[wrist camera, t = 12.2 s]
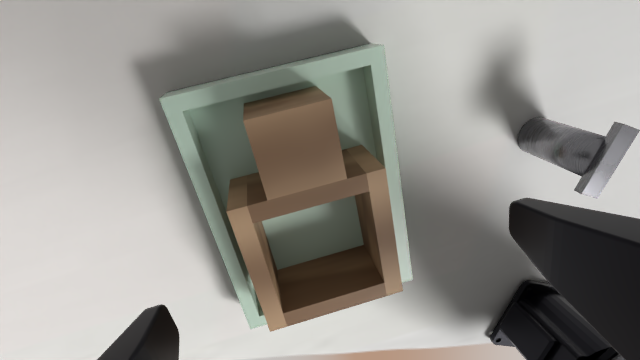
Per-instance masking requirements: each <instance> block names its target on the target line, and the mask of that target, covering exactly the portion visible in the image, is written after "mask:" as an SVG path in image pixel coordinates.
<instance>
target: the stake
mask: <svg viewBox="0 0 640 360" xmlns="http://www.w3.org/2000/svg"><path fill="white" fill-rule="evenodd" d="M639 131H640V130H638V129H636V128H633V127H630V126H628V125H625V124H622V123H618V122H614V124H613V125H612V127H611V129H610V130H609V132H608V134H607V135H606V137H605V136H602V135H599V134H595V133H592V132H589V131H585V130H582V129H579V128H575V127H572V126H568V125H565V124H562V123H558V122H555V121H552V120H548V119H545V118H541V117H537V118H533V119H531V120H529V121H528V122H527V123H526V124H525V125H524V126H523V127H522V129H521V130H520V132H519V136H518V144H519V147H520V148H521V149H522V150H523V151H525V152H527V153H530V154H532V155H534V156H536V157H539V158H541V159H543V160H546V161H548V162H550V163H552V164H555V165H557V166H559V167H562V168H564V169H566V170H569V171H571V172H573V173H575V174H578V175H580V176H582V178H581V179H580V181H579V183H578V184H577V186H576V188H575V189H574V191H577V192H579V193H581V194H583V195H587V196H590V197H594V198H598V197H599V195H600V194H601V192H602V190H603V189H604V187H605V185H606V184H607V182H608V181H609V179H610V177H611V176H612V174H613V173H614V171H615V169H616V168H617V166H618V165H619V163H620V161H621V160H622V158H623V157H624V155H625V153H626V152H627V150H628V149H629V147H630V145H631V144H632V142H633V140H634V139H635V137H636V136H637V134H638V132H639Z"/></svg>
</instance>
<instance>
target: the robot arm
mask: <svg viewBox="0 0 640 360" xmlns="http://www.w3.org/2000/svg"><path fill="white" fill-rule="evenodd" d="M509 231H510V234H511V236H512V237H513V239H514V240H515V241H516V243H517V244H518V245H519V246H520V247H521V249H522V250H523V251H524V252H525V254H526V255H527V256H528V257H529V259H530V260H531V261H532V262H533V264H534V265H535V266H536V267H537V269H538V270H539V271H540V272H541V273H542V275H543V276H544V277H545V278H546V279H547V281H548V282H549V283H550V284H548V283H543V282H537V281H531V280H527V281H525V282H523V283H522V285H521V286H520V288H519V290H518V291H517V293H516V295H515V296H514V298H513V300H512V301H511V303H510V305H509V306H508V308H507V310H506V311H505V313H504V315H503V316H502V318H501V320H500V322H499V323H498V325H497V327H496V328H495V330H494V332H493V333H492V335H491V337H490V340H491V341H492V342H493V343H494V344H495V345H503V346H513V347H516V348H517V350H518V351H519V352H520V353H521V354H522V355H523V357H524V358H525V359H526V360H640V219H637V218H632V217H627V216H622V215H616V214H611V213H606V212H600V211H595V210H590V209H585V208H579V207H574V206H569V205H563V204H558V203H553V202H547V201H542V200H537V199H532V198H523V199H520V200H516V201H513V202H512V203H511V204H510V207H509ZM97 360H179V332H178V329H177V326H176V324H175V323H174V321H173V319H172V317H171V315H170V313H169V311H168V309H167V307H166V306H165V305H157V306H154V307H151V308H147V309H145V310H144V311H143V312H142V313H141V314H140V315H139V316H138V317H137V319H136V320H135V321H134V322H133V323H132V324H131V325H130V326H129V327H128V328H127V329H126V330H125V331H124V332H123V333H122V334H121V335H120V336H119V337H118V338H117V340H116V341H115V342H114V343H113V344H112V345H111V346H110V347H109V348H108V349H107V350H106V351H105V352H104V353H103V354H102V355H101V356H100V357H99V358H98V359H97Z"/></svg>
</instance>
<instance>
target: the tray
mask: <svg viewBox="0 0 640 360" xmlns="http://www.w3.org/2000/svg"><path fill="white" fill-rule="evenodd" d="M313 86H317V87H318V88H319V89H320V90H322V91H323V92H324V93H325V94H327V95H328V96H329V97H330V98H332V103H333V108H334V113H335V119H336V124H337V129H338V134H339V139H340V145H341V150H344V149H348V148H352V147H355V146H359V145H363V146H364V147H365V148H366V149H367V150H368V151H369V152H370V153H371V154H372V155H373V156H374V157H375V158H376V159H377V160H378V161H379V162H380V163H381V164H382V165H383V166H384V167H385V168H386V174H387V181H388V188H389V196H390V203H391V210H392V217H393V224H394V231H395V238H396V246H397V253H398V260H399V267H400V274H401V281H402V283H404V282H407V281H411V280H413V277H412V269H411V260H410V252H409V244H408V236H407V228H406V220H405V212H404V204H403V196H402V188H401V179H400V171H399V163H398V155H397V147H396V139H395V131H394V123H393V115H392V107H391V99H390V90H389V82H388V74H387V66H386V58H385V50H384V45H381V44H372V43H371V44H367V45H362V46H358V47H354V48H350V49H346V50H342V51H337V52H333V53H329V54H325V55H321V56H317V57H312V58H308V59H304V60H300V61H296V62H292V63H287V64H283V65H279V66H275V67H271V68H267V69H262V70H258V71H254V72H250V73H246V74H242V75H237V76H233V77H229V78H225V79H221V80H217V81H212V82H208V83H204V84H200V85H196V86H192V87H187V88H183V89H179V90H175V91H171V92H167V93H166V94H165V95H163V96H162V97H161V98H160V99H159V100H160V102H161V105H162V108H163V110H164V113H165V115H166V118H167V120H168V123H169V125H170V128H171V130H172V133H173V135H174V138H175V140H176V143H177V145H178V148H179V150H180V153H181V155H182V158H183V160H184V163H185V165H186V168H187V170H188V173H189V175H190V178H191V181H192V183H193V186H194V188H195V191H196V193H197V196H198V198H199V201H200V203H201V206H202V208H203V211H204V213H205V216H206V218H207V221H208V223H209V226H210V228H211V231H212V233H213V236H214V238H215V241H216V243H217V246H218V248H219V251H220V254H221V256H222V259H223V261H224V264H225V266H226V269H227V271H228V274H229V276H230V279H231V281H232V284H233V286H234V289H235V291H236V294H237V296H238V299H239V301H240V304H241V306H242V309H243V311H244V314H245V316H246V319H247V321H248V324H249V327H250V329H253V328H256V327H260V326H263V325H266V324H267V321H266V319H265V316H264V313H263V311H262V308H261V305H260V302H259V300H258V297H257V294H256V291H255V289H254V286H253V283H252V280H251V278H250V275H249V272H248V270H247V267H246V264H245V261H244V259H243V256H242V253H241V250H240V248H239V245H238V242H237V239H236V237H235V234H234V231H233V228H232V226H231V223H230V220H229V218H228V215H227V212H226V211H227V201H228V192H229V183H230V180H231V179H234V178H238V177H242V176H246V175H250V174H253V173H257V172H259V171H258V168H257V165H256V161H255V158H254V155H253V152H252V148H251V145H250V142H249V138H248V135H247V132H246V129H245V125H244V122H243V110H244V103H248V102H252V101H256V100H260V99H264V98H268V97H272V96H276V95H280V94H284V93H289V92H293V91H297V90H301V89H305V88H309V87H313ZM262 224H263V227H264V230H265V233H266V236H267V239H268V242H269V246H270V249H271V252H272V255H273V258H274V261H275V264H276V267H277V270H279V269H282V268H286V267H289V266H293V265H296V264H300V263H303V262H306V261H310V260H313V259H317V258H320V257H324V256H327V255H330V254H334V253H337V252H341V251H344V250H348V249H351V248H354V247H358V246H361V245H364V243H363V238H362V232H361V227H360V222H359V216H358V211H357V206H356V200H355V195H354V196H351V197H347V198H343V199H340V200H336V201H333V202H329V203H325V204H322V205H318V206H315V207H311V208H307V209H304V210H300V211H297V212H293V213H289V214H286V215H282V216H279V217H275V218H271V219H268V220H264V221H262Z"/></svg>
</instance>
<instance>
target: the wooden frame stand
mask: <svg viewBox="0 0 640 360" xmlns="http://www.w3.org/2000/svg"><path fill="white" fill-rule="evenodd" d="M243 122H244V125H245V129H246V132H247V135H248V138H249V142H250V145H251V148H252V152H253V155H254V158H255V161H256V165H257V168H258V171H259V172H257V173H253V174H250V175H246V176H242V177H238V178H234V179H231V180H230V183H229V192H228V201H227V211H226V212H227V215H228V218H229V220H230V223H231V226H232V228H233V231H234V234H235V237H236V239H237V242H238V245H239V248H240V250H241V253H242V256H243V259H244V261H245V264H246V267H247V270H248V272H249V275H250V278H251V280H252V283H253V286H254V289H255V291H256V294H257V297H258V300H259V302H260V305H261V308H262V311H263V313H264V316H265V319H266V321H267V324H268V327H269V330H270V332H271V331H274V330H277V329H280V328H284V327H287V326H290V325H294V324H297V323H300V322H303V321H307V320H310V319H313V318H316V317H320V316H323V315H326V314H329V313H333V312H336V311H339V310H342V309H346V308H349V307H352V306H356V305H359V304H362V303H365V302H369V301H372V300H375V299H378V298H382V297H385V296H388V295H391V294H395V293H398V292H401V291H403V288H402V281H401V274H400V267H399V260H398V253H397V246H396V238H395V231H394V224H393V217H392V210H391V203H390V196H389V188H388V181H387V174H386V168H385V167H384V166H383V165H382V164H381V163H380V162H379V161H378V160H377V159H376V158H375V157H374V156H373V155H372V154H371V153H370V152H369V151H368V150H367V149H366V148H365V147H364V146H363V145H359V146H355V147H352V148H348V149H344V150H341V145H340V139H339V134H338V129H337V124H336V119H335V113H334V108H333V103H332V98H330V97H329V96H328V95H327V94H325V93H324V92H323V91H322V90H320V89H319V88H318V87H317V86H313V87H309V88H305V89H301V90H297V91H293V92H289V93H284V94H280V95H276V96H272V97H268V98H264V99H260V100H256V101H252V102H248V103H244V110H243ZM354 195H355V200H356V206H357V211H358V216H359V222H360V227H361V232H362V238H363V243H364V245H361V246H358V247H354V248H351V249H348V250H344V251H341V252H337V253H334V254H330V255H327V256H324V257H320V258H317V259H313V260H310V261H306V262H303V263H300V264H296V265H293V266H289V267H286V268H282V269H279V270H277V267H276V264H275V261H274V258H273V255H272V252H271V249H270V246H269V242H268V239H267V236H266V233H265V230H264V227H263V224H262V221H264V220H268V219H271V218H275V217H279V216H282V215H286V214H289V213H293V212H297V211H300V210H304V209H307V208H311V207H315V206H318V205H322V204H325V203H329V202H333V201H336V200H340V199H343V198H347V197H351V196H354Z"/></svg>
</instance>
